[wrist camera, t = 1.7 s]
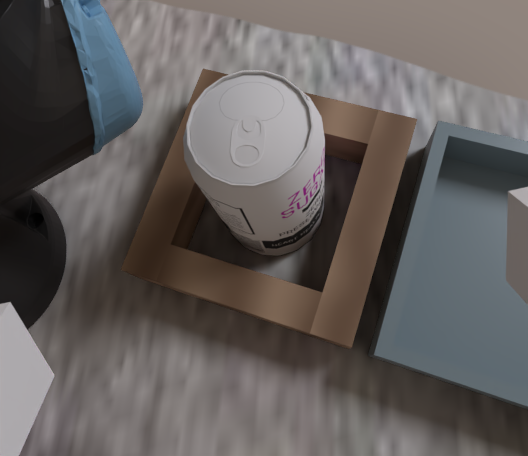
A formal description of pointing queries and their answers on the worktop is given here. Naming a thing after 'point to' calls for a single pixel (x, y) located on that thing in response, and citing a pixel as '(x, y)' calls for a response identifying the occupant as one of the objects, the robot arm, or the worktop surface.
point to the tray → (459, 269)
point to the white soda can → (259, 159)
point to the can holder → (261, 285)
